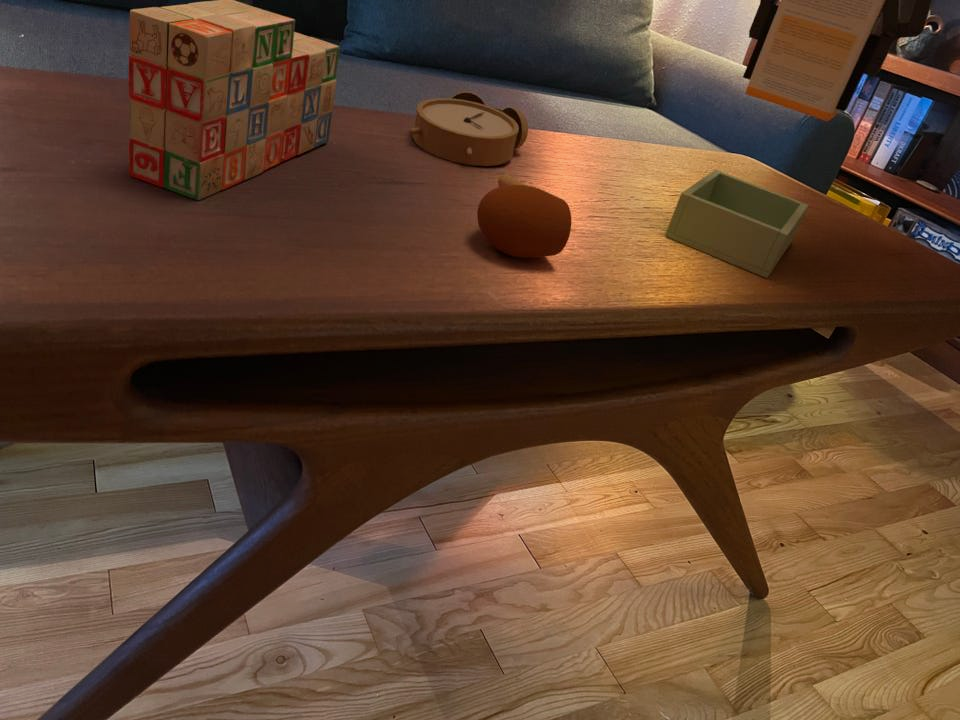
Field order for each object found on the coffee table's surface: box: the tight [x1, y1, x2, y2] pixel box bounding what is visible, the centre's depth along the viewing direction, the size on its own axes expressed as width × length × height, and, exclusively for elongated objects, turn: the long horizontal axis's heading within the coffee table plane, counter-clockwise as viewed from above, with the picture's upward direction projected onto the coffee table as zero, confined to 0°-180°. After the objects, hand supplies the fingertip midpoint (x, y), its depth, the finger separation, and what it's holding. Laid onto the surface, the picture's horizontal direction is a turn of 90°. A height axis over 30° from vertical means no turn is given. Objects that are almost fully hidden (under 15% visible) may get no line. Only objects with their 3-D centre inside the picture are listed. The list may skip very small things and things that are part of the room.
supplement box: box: [744, 0, 885, 122], centre depth 71 cm, size 8×5×13 cm, turn 58°
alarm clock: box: [408, 91, 529, 167], centre depth 86 cm, size 11×5×15 cm
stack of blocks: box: [127, 0, 341, 201], centre depth 65 cm, size 21×6×12 cm, turn 162°
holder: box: [664, 169, 809, 279], centre depth 80 cm, size 11×14×5 cm
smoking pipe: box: [476, 173, 572, 259], centre depth 69 cm, size 7×18×6 cm, turn 7°
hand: (794, 92), depth 73 cm, fingers closed on supplement box, 8 cm apart
